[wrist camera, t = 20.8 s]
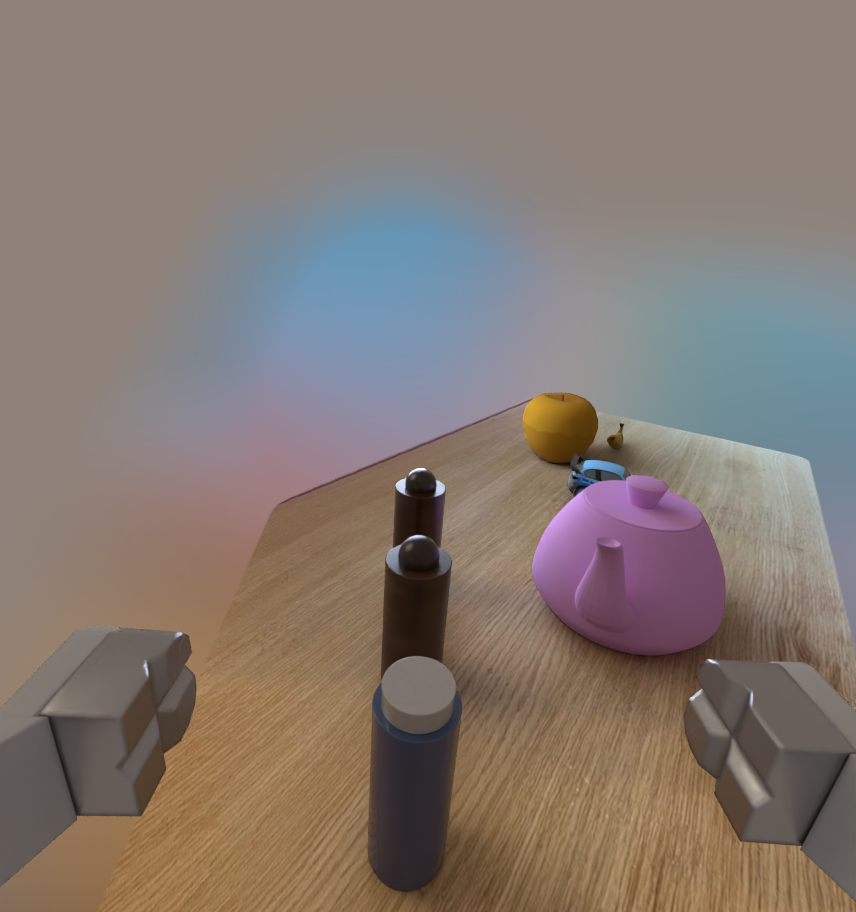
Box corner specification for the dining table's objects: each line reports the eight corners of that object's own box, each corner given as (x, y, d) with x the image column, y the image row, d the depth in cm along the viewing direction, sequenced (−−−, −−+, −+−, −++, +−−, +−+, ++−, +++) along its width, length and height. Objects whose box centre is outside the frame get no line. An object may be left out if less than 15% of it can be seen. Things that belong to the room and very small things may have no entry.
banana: (615, 458, 90) (619, 437, 89) (601, 455, 91) (606, 434, 90) (624, 443, 99) (629, 424, 97) (612, 440, 100) (616, 421, 98)
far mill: (381, 582, 51) (385, 468, 46) (412, 564, 55) (419, 456, 50) (416, 603, 48) (424, 484, 44) (446, 582, 52) (457, 470, 47)
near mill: (368, 676, 40) (372, 537, 35) (408, 645, 43) (417, 515, 38) (413, 711, 37) (424, 565, 32) (452, 675, 40) (467, 538, 36)
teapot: (568, 530, 64) (588, 430, 59) (723, 582, 55) (761, 470, 50) (477, 641, 44) (494, 503, 39) (696, 749, 35) (754, 590, 30)
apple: (505, 456, 88) (513, 393, 83) (536, 439, 97) (545, 382, 93) (575, 477, 81) (588, 409, 76) (601, 456, 90) (614, 395, 86)
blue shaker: (351, 849, 28) (353, 685, 24) (404, 791, 31) (415, 637, 27) (409, 912, 25) (424, 741, 21) (460, 843, 29) (482, 682, 24)
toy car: (651, 519, 68) (660, 482, 66) (562, 500, 72) (569, 464, 70) (650, 502, 73) (659, 467, 71) (568, 485, 77) (574, 451, 75)
